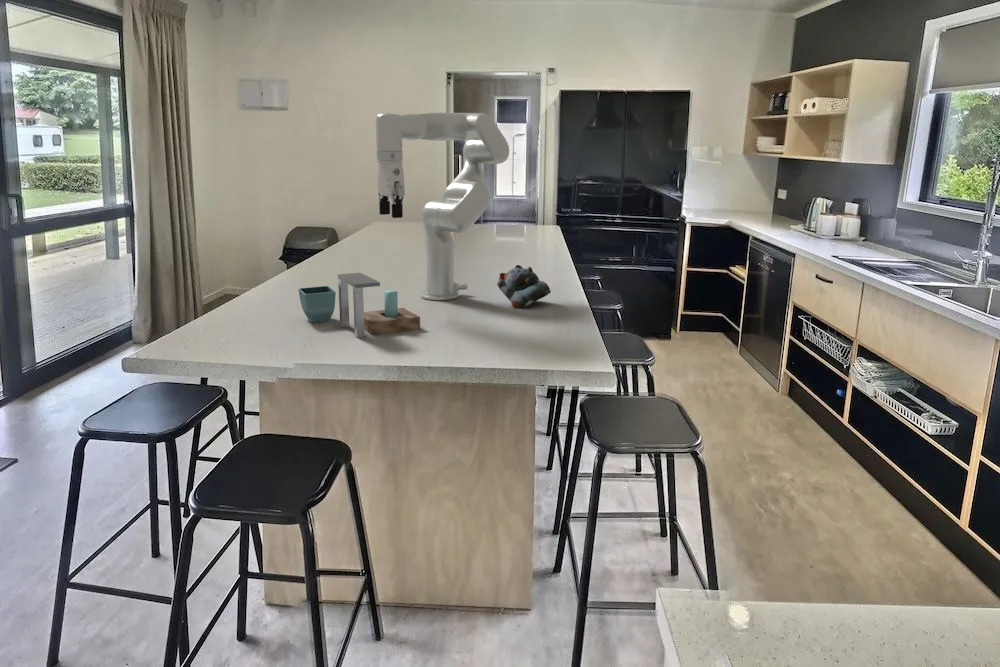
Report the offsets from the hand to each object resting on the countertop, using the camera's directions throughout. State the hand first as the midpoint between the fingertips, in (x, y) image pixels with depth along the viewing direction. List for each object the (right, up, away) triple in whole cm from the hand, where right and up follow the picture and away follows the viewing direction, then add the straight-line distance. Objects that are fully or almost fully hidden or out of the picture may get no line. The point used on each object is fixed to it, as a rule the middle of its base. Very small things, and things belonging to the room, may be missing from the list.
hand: (390, 216), depth 214 cm
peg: (+2, -33, -14) cm, 36 cm away
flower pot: (-20, -32, -9) cm, 38 cm away
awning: (-6, -34, -19) cm, 40 cm away
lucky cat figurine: (+40, -26, +16) cm, 51 cm away
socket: (+2, -33, -15) cm, 37 cm away
